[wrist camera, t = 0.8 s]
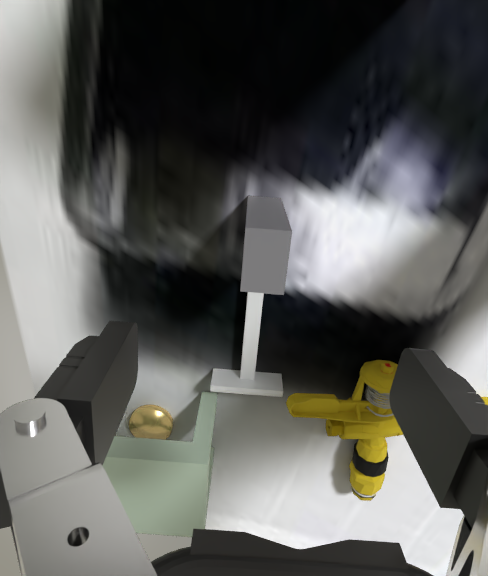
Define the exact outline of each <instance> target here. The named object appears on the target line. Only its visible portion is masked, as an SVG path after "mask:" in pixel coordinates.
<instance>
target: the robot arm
mask: <svg viewBox="0 0 488 576" xmlns="http://www.w3.org/2000/svg"><path fill="white" fill-rule="evenodd" d="M137 373H138V328H137V324H136V323H132V322H120V321H109V322H108V324H107V325H106V327H105V328H104V330H103V331H102V333H101V334H100V336H88V337H86V338H85V339H83V340H81V341H80V342H78V343H76V344H75V345H74V346H73V348H72V349H71V350H70V351H69V353H68V354H67V355H66V358H64V359H63V361H62V362H61V363H60V365H59V367H57V369H56V370H55V371H54V373H53V374H52V375H51V376H50V378H49V379H48V380H47V382H46V383H45V384H44V386H43V387H42V388H41V390H40V391H39V392H38V394H37V395H36V396H35V398H34V399H30V400H26V401H22V402H19V403H17V404H14V405H13V406H11V407H9V408H7V409H6V410H4V411H3V412H2V413H1V414H0V529H1V528H5V527H9V526H10V527H11V532H12V536H13V541H14V545H15V550H16V554H17V559H18V563H19V568H20V572H21V576H433V575H431V574H430V573H428V572H426V571H424V570H422V569H420V568H418V567H415V566H413V565H411V564H408V563H406V560H405V557H404V555H403V552H402V549H401V546H400V544H399V543H391V542H377V541H363V540H345V541H340V542H336V543H331V544H326V545H321V546H317V547H312V548H307V549H294V548H291V547H288V546H285V545H282V544H279V543H276V542H273V541H270V540H267V539H264V538H261V537H258V536H255V535H252V534H249V533H246V532H235V531H221V530H207V529H193V535H192V543H191V547H186V548H182V549H178V550H176V551H173V552H170V553H167V554H165V555H163V556H161V557H159V558H157V559H155V560H154V561H152V562H150V560H149V558H148V556H147V554H146V552H145V550H144V548H143V546H142V544H141V542H140V540H139V538H138V536H137V534H136V532H135V530H134V528H133V526H132V524H131V522H130V520H129V518H128V516H127V514H126V512H125V510H124V508H123V506H122V504H121V502H120V500H119V498H118V496H117V494H116V492H115V490H114V488H113V486H112V484H111V482H110V480H109V477H108V475H107V473H106V471H105V470H104V468H103V466H102V465H103V463H104V461H105V458H106V456H107V453H108V451H109V449H110V446H111V444H112V441H113V439H114V436H115V434H116V432H117V429H118V427H119V424H120V422H121V419H122V417H123V415H124V412H125V410H126V407H127V405H128V402H129V400H130V398H131V395H132V393H133V390H134V388H135V384H136V380H137ZM389 400H390V407H391V410H392V413H393V415H394V417H395V419H396V421H397V423H398V425H399V427H400V429H401V431H402V432H403V434H404V436H405V438H406V440H407V442H408V444H409V446H410V448H411V450H412V452H413V454H414V456H415V458H416V460H417V462H418V464H419V466H420V468H421V470H422V472H423V474H424V476H425V478H426V480H427V482H428V484H429V486H430V488H431V490H432V492H433V494H434V496H435V498H436V500H437V502H438V504H439V506H440V507H441V508H454V509H461V510H462V512H463V514H464V516H463V518H462V520H461V522H460V525H459V528H458V532H457V536H456V539H455V543H454V547H453V551H452V554H451V558H450V562H449V566H448V569H447V573H446V576H488V405H485V402H484V400H483V399H482V398H481V397H480V396H479V395H478V394H476V391H475V390H474V389H473V388H472V386H471V385H470V384H469V383H468V382H467V381H466V379H464V378H463V377H461V376H460V375H459V374H457V373H456V372H454V371H453V370H452V369H450V368H447V367H446V366H445V364H444V363H443V362H442V361H441V359H440V358H439V357H438V356H437V355H436V353H435V352H434V351H432V350H424V349H413V348H406V349H404V350H403V352H402V354H401V356H400V360H399V363H398V366H397V369H396V373H395V376H394V379H393V383H392V386H391V389H390V396H389Z"/></svg>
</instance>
